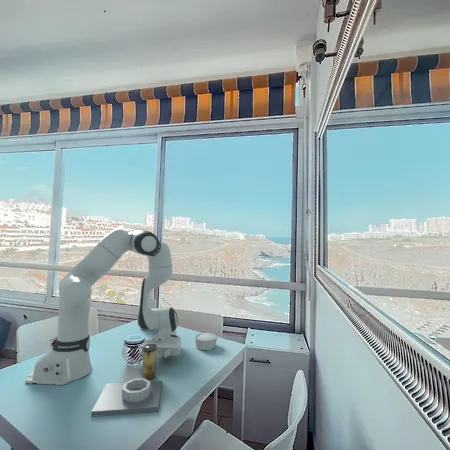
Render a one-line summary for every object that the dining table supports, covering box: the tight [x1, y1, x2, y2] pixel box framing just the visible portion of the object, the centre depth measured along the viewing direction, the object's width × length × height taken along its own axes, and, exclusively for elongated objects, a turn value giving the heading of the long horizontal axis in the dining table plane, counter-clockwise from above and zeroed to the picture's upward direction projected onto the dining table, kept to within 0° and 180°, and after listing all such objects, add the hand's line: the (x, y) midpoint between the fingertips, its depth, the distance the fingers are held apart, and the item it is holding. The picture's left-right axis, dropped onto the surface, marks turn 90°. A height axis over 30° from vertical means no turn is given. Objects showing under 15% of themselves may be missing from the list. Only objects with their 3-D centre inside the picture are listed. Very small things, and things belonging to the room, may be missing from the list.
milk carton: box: [139, 294, 158, 331], centre depth 165 cm, size 7×7×19 cm
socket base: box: [91, 378, 163, 417], centre depth 96 cm, size 20×16×4 cm
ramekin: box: [194, 332, 218, 351], centre depth 140 cm, size 11×11×5 cm
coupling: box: [142, 344, 157, 381], centre depth 110 cm, size 8×5×12 cm
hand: (152, 355), depth 114 cm, fingers open, 8 cm apart
